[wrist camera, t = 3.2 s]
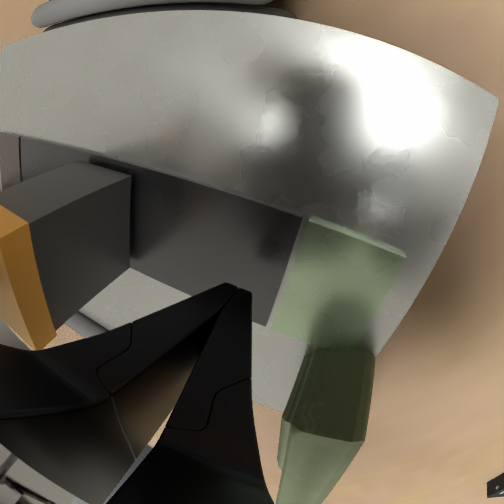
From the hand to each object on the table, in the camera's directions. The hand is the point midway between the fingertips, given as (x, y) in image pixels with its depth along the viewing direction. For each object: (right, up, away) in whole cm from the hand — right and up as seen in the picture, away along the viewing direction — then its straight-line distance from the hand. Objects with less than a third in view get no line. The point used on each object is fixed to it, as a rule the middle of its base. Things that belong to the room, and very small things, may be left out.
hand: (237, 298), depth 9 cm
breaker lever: (-6, +3, +2) cm, 7 cm away
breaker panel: (-5, +4, +4) cm, 8 cm away
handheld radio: (+5, -12, +10) cm, 16 cm away
